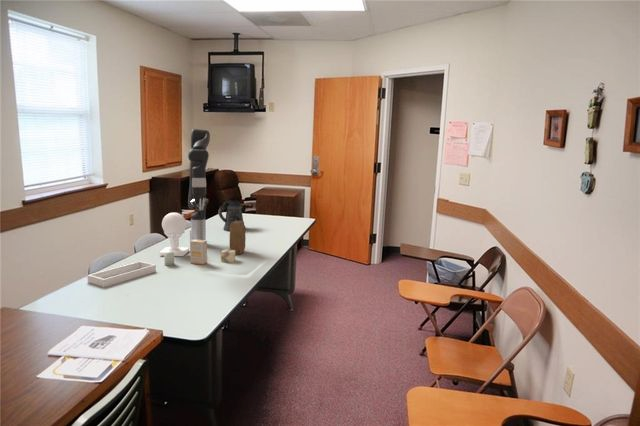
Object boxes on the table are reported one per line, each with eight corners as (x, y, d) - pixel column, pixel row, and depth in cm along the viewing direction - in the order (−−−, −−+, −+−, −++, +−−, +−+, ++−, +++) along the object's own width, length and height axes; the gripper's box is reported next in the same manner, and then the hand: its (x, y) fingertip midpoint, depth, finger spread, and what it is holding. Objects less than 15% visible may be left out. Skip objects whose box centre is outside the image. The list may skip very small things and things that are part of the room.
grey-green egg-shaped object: (162, 264, 226) (162, 252, 225) (169, 262, 230) (169, 250, 229) (169, 266, 224) (168, 253, 223) (176, 264, 228) (176, 251, 227)
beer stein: (249, 231, 317) (250, 199, 313) (231, 236, 301) (231, 202, 297) (234, 228, 326) (234, 197, 322) (215, 232, 310) (215, 199, 306)
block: (239, 255, 250) (239, 223, 247) (228, 254, 252) (228, 222, 249) (247, 251, 260) (247, 220, 257) (236, 250, 262) (236, 219, 259)
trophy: (166, 250, 256) (165, 210, 252) (189, 250, 257) (188, 211, 253) (159, 256, 242) (158, 214, 238) (183, 256, 243) (182, 214, 239)
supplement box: (207, 263, 232) (207, 240, 230) (202, 265, 228) (202, 242, 226) (195, 261, 235) (194, 238, 233) (190, 263, 231) (189, 240, 228)
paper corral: (87, 282, 195) (87, 275, 194) (140, 267, 220) (140, 261, 219) (103, 287, 189) (103, 279, 188) (155, 271, 214) (155, 264, 214)
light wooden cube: (221, 261, 236) (221, 251, 235) (225, 259, 242) (225, 249, 241) (230, 262, 235) (230, 252, 234) (235, 260, 240) (235, 250, 239)
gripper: (202, 185, 235) (203, 215, 237) (185, 186, 223) (185, 217, 226) (212, 185, 231) (213, 216, 234) (195, 187, 220) (196, 219, 222)
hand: (199, 217), depth 230 cm, fingers closed
